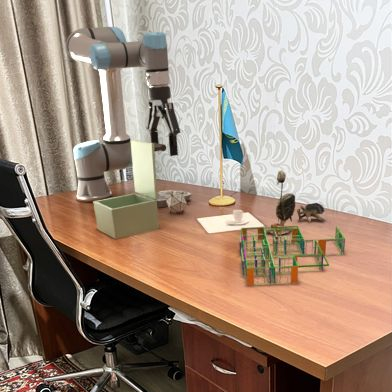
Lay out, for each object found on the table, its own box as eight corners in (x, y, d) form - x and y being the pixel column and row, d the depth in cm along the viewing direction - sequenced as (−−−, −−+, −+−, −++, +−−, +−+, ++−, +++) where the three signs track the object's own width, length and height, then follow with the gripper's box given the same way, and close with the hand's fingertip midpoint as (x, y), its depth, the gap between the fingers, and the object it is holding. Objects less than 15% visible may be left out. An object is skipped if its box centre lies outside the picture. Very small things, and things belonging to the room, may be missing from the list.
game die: (177, 223, 200) (166, 207, 191) (167, 211, 205) (156, 195, 196) (195, 209, 199) (185, 192, 191) (186, 198, 204) (175, 180, 196)
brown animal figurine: (298, 222, 175) (325, 216, 172) (295, 201, 175) (322, 196, 173) (300, 228, 182) (326, 223, 180) (297, 208, 183) (323, 203, 180)
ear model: (227, 227, 179) (227, 215, 177) (221, 221, 185) (221, 209, 183) (251, 224, 180) (251, 212, 178) (245, 218, 187) (245, 207, 185)
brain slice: (176, 195, 226) (176, 188, 225) (196, 201, 213) (196, 194, 212) (136, 203, 218) (135, 196, 216) (154, 210, 205) (153, 203, 203)
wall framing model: (238, 243, 163) (238, 228, 160) (333, 238, 161) (334, 222, 159) (244, 286, 132) (243, 268, 130) (360, 280, 131) (362, 262, 128)
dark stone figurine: (302, 230, 170) (304, 167, 160) (274, 237, 165) (275, 173, 155) (286, 225, 176) (288, 164, 166) (259, 232, 172) (259, 169, 162)
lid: (151, 143, 169) (171, 141, 172) (130, 139, 181) (149, 137, 184) (155, 199, 177) (174, 196, 180) (134, 191, 189) (153, 189, 192)
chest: (115, 239, 175) (111, 209, 170) (97, 229, 187) (93, 201, 182) (159, 228, 182) (156, 200, 177) (139, 219, 194) (136, 193, 189)
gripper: (132, 86, 180) (139, 151, 190) (166, 87, 161) (172, 158, 172) (151, 84, 183) (157, 148, 194) (187, 85, 164) (191, 155, 175)
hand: (164, 153), depth 183 cm, fingers open, 13 cm apart
